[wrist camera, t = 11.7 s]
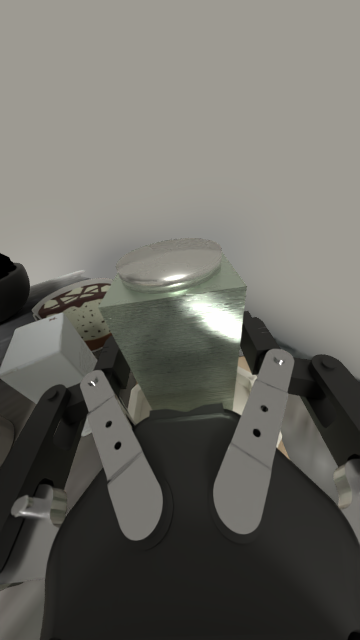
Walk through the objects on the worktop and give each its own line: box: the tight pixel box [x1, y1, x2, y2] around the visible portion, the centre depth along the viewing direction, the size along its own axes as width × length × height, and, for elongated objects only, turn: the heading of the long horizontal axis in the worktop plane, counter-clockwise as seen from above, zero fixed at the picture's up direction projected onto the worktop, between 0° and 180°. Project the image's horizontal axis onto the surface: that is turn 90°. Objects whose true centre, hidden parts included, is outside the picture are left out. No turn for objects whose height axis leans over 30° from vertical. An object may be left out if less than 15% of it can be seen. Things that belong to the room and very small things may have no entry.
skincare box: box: [0, 313, 97, 436], centre depth 18 cm, size 6×4×12 cm
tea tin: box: [98, 238, 247, 412], centre depth 13 cm, size 5×5×17 cm
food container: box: [32, 278, 113, 352], centre depth 29 cm, size 12×6×10 cm, turn 111°
